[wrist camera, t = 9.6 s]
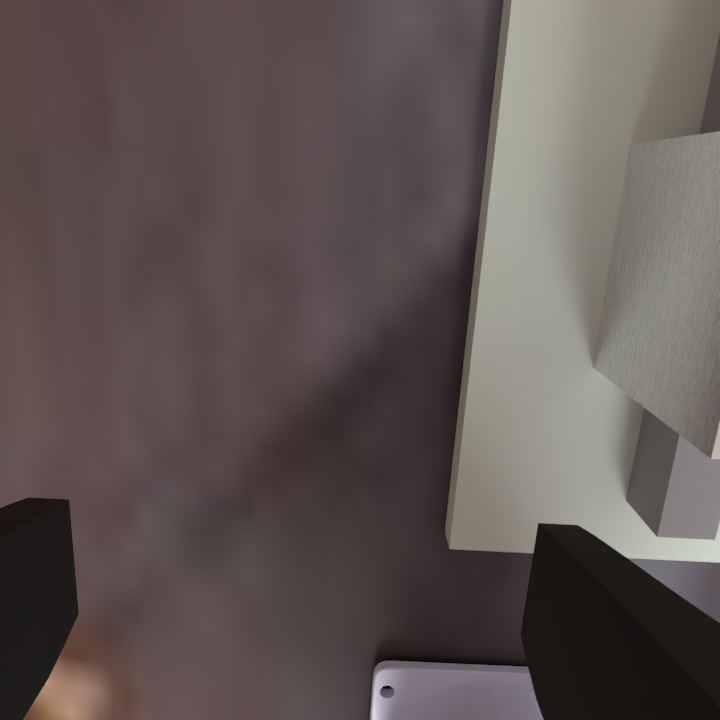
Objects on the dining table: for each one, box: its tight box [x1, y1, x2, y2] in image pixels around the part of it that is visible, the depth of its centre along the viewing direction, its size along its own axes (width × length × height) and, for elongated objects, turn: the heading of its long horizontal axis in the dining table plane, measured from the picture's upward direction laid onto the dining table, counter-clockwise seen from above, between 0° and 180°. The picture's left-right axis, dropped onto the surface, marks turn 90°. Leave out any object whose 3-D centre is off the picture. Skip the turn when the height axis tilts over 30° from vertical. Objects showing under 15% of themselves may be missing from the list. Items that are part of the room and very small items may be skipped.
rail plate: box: [445, 0, 720, 562], centre depth 16 cm, size 20×12×3 cm, turn 177°
